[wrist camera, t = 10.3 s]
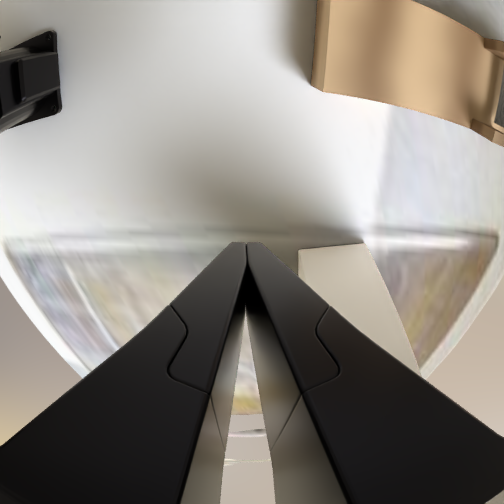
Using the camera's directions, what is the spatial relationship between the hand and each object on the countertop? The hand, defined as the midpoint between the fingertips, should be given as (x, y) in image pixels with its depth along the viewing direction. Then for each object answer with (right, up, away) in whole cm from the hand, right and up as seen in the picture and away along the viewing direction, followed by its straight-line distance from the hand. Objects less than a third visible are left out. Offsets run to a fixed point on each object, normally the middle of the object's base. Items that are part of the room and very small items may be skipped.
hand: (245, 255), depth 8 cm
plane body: (+13, +13, +5) cm, 19 cm away
